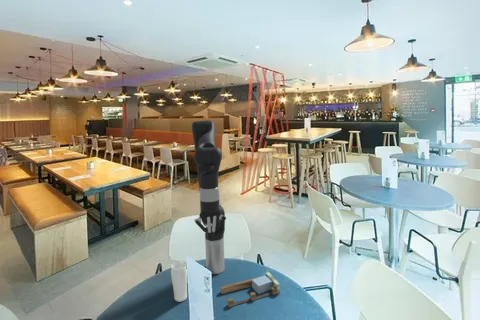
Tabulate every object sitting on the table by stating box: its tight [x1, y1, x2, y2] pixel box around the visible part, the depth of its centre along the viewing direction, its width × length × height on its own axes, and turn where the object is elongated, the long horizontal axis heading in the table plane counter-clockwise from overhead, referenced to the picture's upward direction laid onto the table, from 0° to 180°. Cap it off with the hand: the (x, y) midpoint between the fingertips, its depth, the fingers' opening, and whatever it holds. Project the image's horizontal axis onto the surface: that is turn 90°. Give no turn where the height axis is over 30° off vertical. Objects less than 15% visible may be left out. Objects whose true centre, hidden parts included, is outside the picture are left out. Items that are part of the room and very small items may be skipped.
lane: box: [220, 271, 281, 308], centre depth 115 cm, size 11×24×4 cm, turn 112°
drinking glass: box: [170, 260, 188, 303], centre depth 112 cm, size 7×7×15 cm
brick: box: [251, 274, 272, 295], centre depth 118 cm, size 6×7×4 cm
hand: (211, 240), depth 106 cm, fingers closed
